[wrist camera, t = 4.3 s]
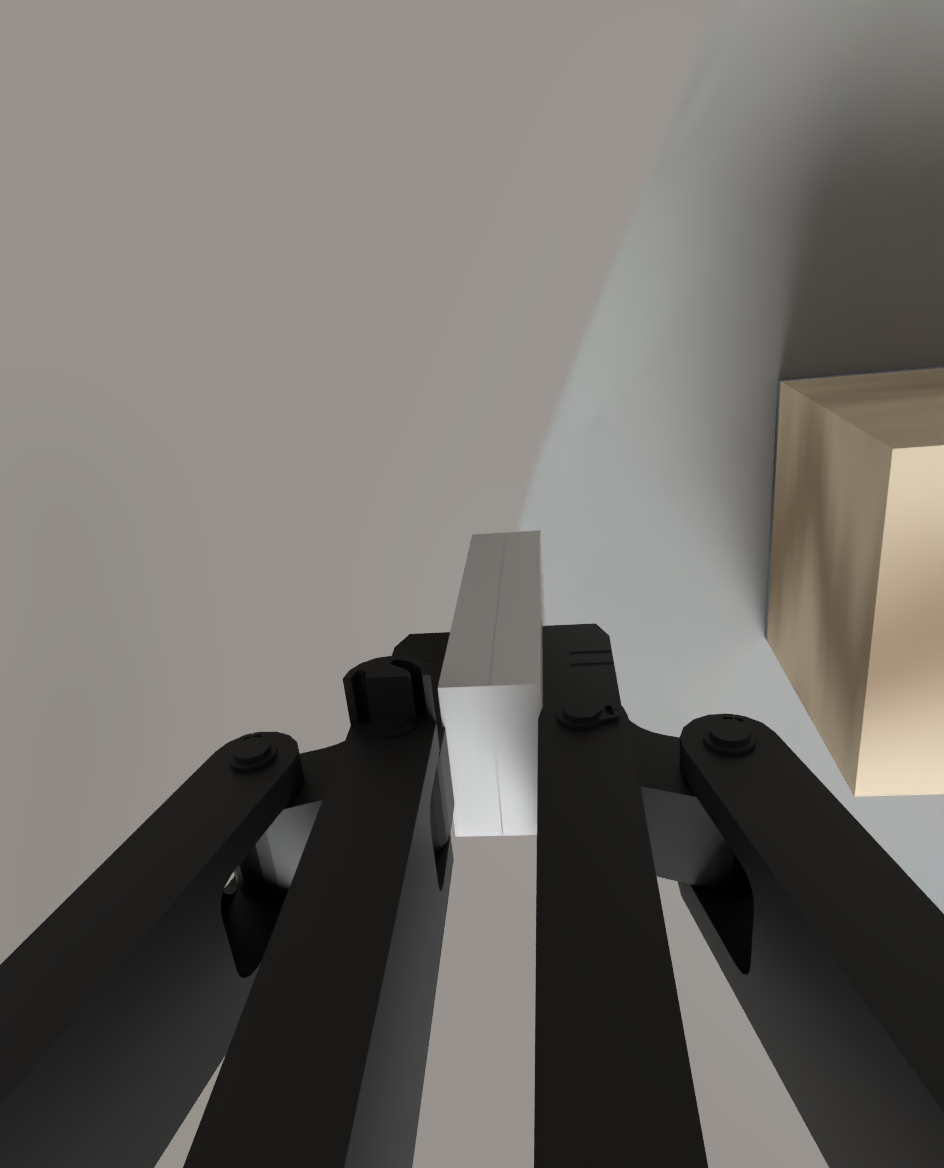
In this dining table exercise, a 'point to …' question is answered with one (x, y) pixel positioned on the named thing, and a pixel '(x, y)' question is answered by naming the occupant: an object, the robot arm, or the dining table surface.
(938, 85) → the dining table surface
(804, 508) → the beech block
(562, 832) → the robot arm
